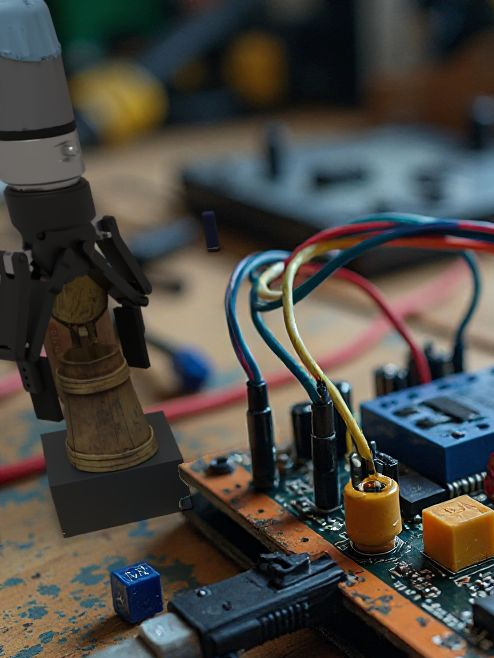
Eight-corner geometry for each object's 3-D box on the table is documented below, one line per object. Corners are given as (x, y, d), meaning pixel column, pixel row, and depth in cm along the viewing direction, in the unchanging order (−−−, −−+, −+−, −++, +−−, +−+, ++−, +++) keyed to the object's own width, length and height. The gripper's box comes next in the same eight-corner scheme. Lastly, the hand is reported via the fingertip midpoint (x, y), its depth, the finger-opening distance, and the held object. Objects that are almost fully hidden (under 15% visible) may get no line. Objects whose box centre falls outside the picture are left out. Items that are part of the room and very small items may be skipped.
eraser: (208, 248, 194) (202, 210, 190) (221, 248, 194) (214, 210, 191) (206, 252, 192) (200, 214, 189) (219, 251, 192) (212, 213, 189)
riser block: (63, 538, 108) (49, 486, 105) (53, 482, 119) (40, 434, 116) (193, 508, 113) (183, 458, 110) (172, 457, 123) (162, 410, 120)
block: (70, 388, 141) (31, 238, 131) (129, 382, 142) (95, 233, 132) (57, 423, 132) (14, 265, 122) (120, 417, 133) (83, 259, 123)
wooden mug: (149, 411, 120) (115, 253, 111) (162, 463, 109) (125, 292, 100) (65, 425, 117) (23, 265, 108) (70, 480, 106) (23, 307, 97)
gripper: (-25, 219, 88) (40, 450, 98) (161, 153, 108) (198, 351, 118) (-94, 213, 90) (-24, 438, 101) (100, 149, 110) (142, 343, 121)
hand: (96, 391), depth 110 cm, fingers open, 13 cm apart
